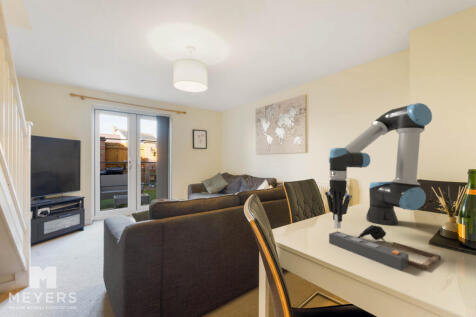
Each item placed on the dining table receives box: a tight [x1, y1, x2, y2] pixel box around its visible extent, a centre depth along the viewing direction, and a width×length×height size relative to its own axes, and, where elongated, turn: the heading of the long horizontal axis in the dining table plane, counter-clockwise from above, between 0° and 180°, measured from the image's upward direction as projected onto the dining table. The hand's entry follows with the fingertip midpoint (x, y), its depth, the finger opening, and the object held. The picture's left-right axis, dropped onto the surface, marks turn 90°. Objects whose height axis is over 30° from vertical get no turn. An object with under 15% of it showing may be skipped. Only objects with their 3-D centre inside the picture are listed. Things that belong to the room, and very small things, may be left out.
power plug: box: [357, 224, 387, 243], centre depth 91 cm, size 6×8×12 cm
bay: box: [392, 241, 442, 272], centre depth 76 cm, size 14×14×2 cm
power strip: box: [328, 230, 410, 271], centre depth 80 cm, size 6×26×5 cm, turn 31°
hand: (337, 227), depth 101 cm, fingers closed
